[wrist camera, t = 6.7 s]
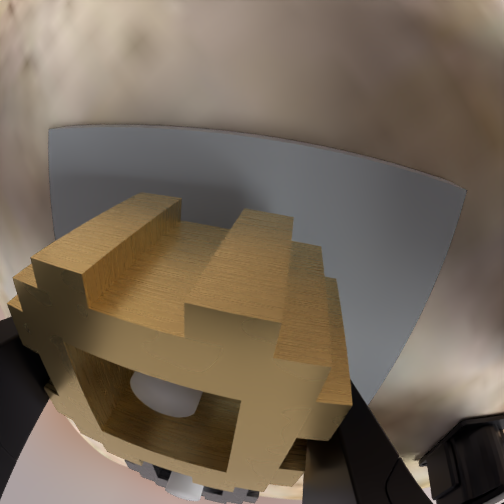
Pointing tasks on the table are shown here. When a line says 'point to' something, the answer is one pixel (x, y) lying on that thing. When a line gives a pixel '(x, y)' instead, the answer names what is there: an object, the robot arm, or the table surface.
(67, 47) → the table surface
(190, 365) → the gear
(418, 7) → the table surface
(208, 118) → the table surface
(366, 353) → the gear board
